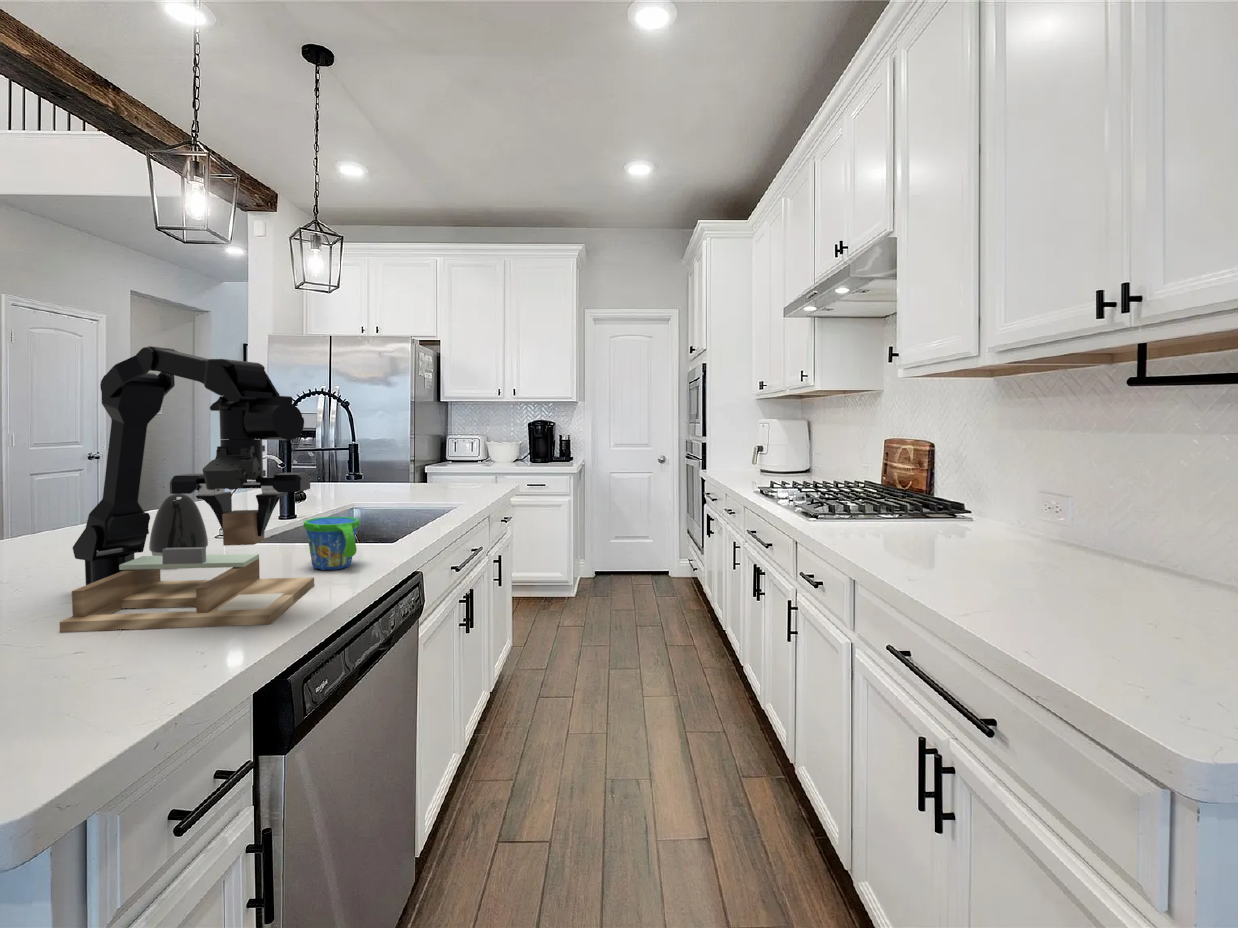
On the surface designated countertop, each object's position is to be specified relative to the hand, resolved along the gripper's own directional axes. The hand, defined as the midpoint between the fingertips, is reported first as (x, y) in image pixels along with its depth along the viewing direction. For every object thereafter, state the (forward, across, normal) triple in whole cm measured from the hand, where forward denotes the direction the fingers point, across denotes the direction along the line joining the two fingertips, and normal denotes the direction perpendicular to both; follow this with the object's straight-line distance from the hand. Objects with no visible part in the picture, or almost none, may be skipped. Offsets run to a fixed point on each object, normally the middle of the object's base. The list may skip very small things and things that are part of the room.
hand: (244, 536), depth 99 cm
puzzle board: (+12, -8, +5) cm, 16 cm away
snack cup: (+12, +5, +32) cm, 34 cm away
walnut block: (+1, 0, 0) cm, 1 cm away
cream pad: (+11, +1, 0) cm, 11 cm away
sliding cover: (+7, -13, +11) cm, 18 cm away
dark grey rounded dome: (+12, -27, +37) cm, 48 cm away
